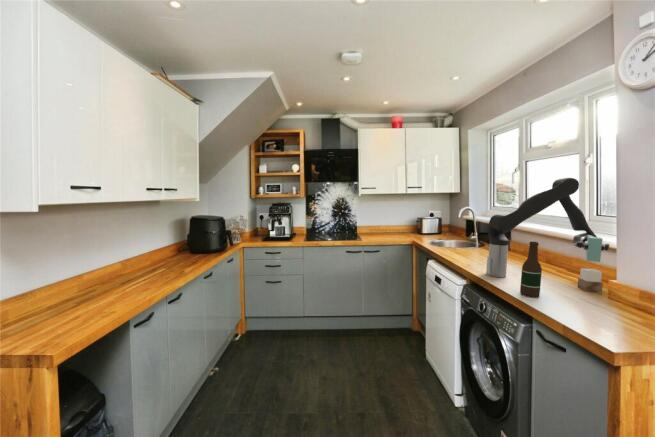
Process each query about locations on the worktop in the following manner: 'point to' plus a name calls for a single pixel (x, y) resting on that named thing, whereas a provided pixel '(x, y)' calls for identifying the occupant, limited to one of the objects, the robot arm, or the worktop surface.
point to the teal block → (594, 249)
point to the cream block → (591, 275)
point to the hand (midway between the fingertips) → (594, 247)
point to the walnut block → (589, 286)
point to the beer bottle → (531, 273)
